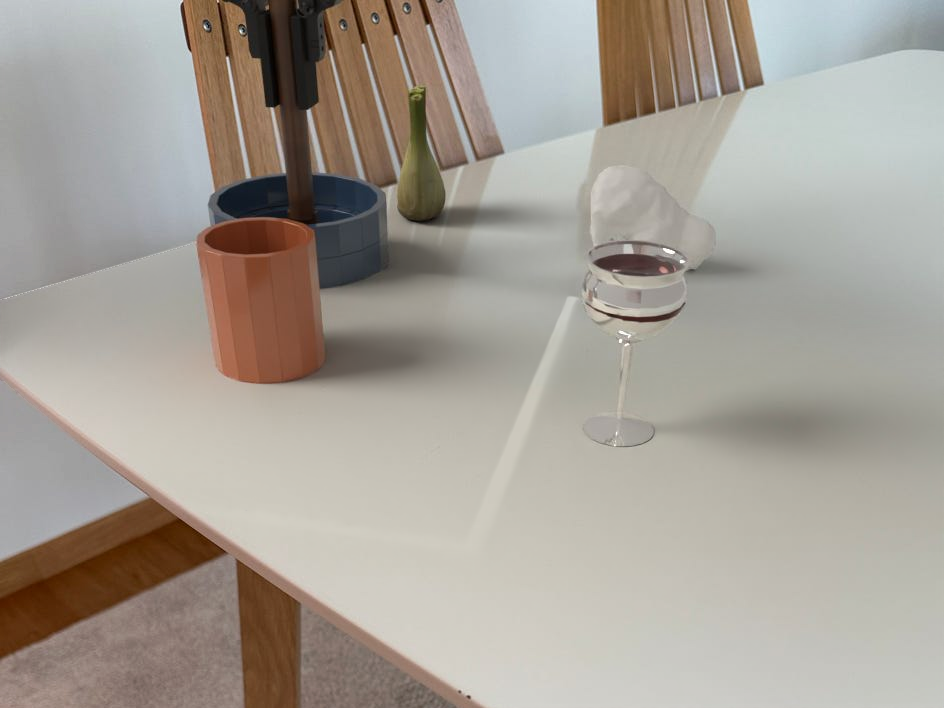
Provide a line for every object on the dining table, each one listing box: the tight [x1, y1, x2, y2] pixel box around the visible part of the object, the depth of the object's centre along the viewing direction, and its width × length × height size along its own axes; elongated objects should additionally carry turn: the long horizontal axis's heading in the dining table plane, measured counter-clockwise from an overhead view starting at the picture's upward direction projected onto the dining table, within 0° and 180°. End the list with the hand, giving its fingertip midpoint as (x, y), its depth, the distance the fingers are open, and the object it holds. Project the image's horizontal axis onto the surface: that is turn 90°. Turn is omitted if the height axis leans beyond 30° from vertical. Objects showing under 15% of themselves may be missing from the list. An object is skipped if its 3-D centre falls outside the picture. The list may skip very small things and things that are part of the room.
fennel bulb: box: [396, 85, 447, 222], centre depth 104 cm, size 6×5×12 cm
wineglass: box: [581, 239, 690, 447], centre depth 70 cm, size 7×7×12 cm
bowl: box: [207, 171, 390, 290], centre depth 95 cm, size 16×16×6 cm
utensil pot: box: [195, 217, 326, 385], centre depth 77 cm, size 8×8×10 cm
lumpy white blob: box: [589, 164, 717, 272], centre depth 95 cm, size 6×8×12 cm
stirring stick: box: [268, 0, 319, 225], centre depth 86 cm, size 3×2×20 cm
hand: (292, 104), depth 85 cm, fingers closed on stirring stick, 2 cm apart
